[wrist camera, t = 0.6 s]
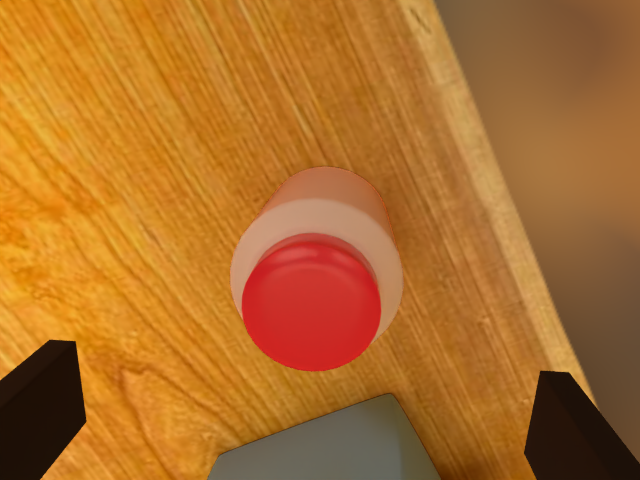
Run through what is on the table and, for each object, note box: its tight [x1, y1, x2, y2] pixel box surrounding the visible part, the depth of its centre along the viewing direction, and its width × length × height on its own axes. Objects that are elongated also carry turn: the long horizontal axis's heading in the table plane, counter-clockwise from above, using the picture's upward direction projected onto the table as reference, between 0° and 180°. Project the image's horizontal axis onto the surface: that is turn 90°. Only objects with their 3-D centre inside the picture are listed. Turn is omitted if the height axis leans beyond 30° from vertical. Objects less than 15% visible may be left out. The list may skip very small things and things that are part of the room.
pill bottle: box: [230, 166, 404, 371], centre depth 24 cm, size 8×8×11 cm
